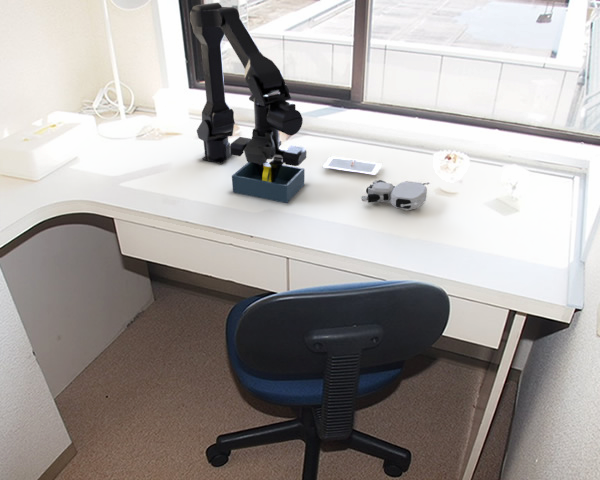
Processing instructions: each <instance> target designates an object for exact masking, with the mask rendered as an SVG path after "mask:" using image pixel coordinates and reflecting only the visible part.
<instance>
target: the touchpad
mask: <svg viewBox="0 0 600 480" xmlns="http://www.w3.org/2000/svg"><path fill="white" fill-rule="evenodd" d="M382 165H383V163H382V162H381V163H379V162H374V161H366V160H360V159H353V158H346V157H339V156H329V158H328V159H327V160H326V162H325V163H324V164H323V165H322V168H325V169H332V170H338V171H345V172H353V173H359V174H366V175H373V176H377V174H378V172H379V171H380V169H381V167H382Z"/></svg>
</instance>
